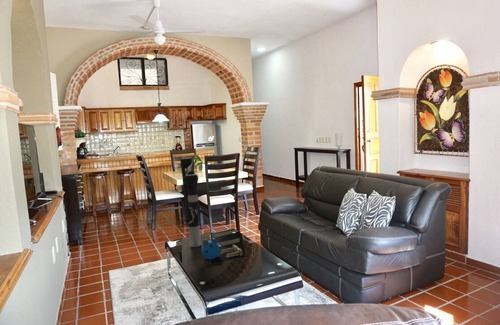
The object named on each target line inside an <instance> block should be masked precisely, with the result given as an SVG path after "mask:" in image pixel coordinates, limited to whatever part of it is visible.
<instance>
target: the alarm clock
mask: <svg viewBox="0 0 500 325" xmlns="http://www.w3.org/2000/svg"><path fill="white" fill-rule="evenodd" d="M220 250H221V249H220V246H219V244H218V240H217V239H216V238H215V237H214V238H211V239H204V240H202V242H201V254H202V255H203V257H204V258H206V259H208V260H214V259H216V258H217V257H218V256H219V255H220V252H221V251H220Z"/></svg>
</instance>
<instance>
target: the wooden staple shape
mask: <svg viewBox="0 0 500 325" xmlns="http://www.w3.org/2000/svg"><path fill="white" fill-rule="evenodd" d="M220 250H221V251H220V252H221V254H226V255H225V256H226V258H227V259H228V258H232V257H236V256H243V250H242V249H241V248H239V247H238V246H237V245H235V244H232V247H228V248H225V249H220Z"/></svg>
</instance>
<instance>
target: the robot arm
mask: <svg viewBox="0 0 500 325" xmlns="http://www.w3.org/2000/svg"><path fill="white" fill-rule="evenodd" d="M179 162H180V169H181V177H182V189H183V198H184V215H185V216H184V217H185V219H187V220H190V219H192V220H190V221H189V222H188V223H187V228H188V238H189V239H188V240H189V246H190V248H198V247H200V246H202V242H201V241H202V240H201V232H200V220H199V218H200V216H199V215H200V214H199V208H198V207H199V205H200V203H199V196H198V183H199V175H198V174H197V173H195V161H194V158H193V157H192V156H190V157H181V158H180V161H179Z"/></svg>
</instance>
